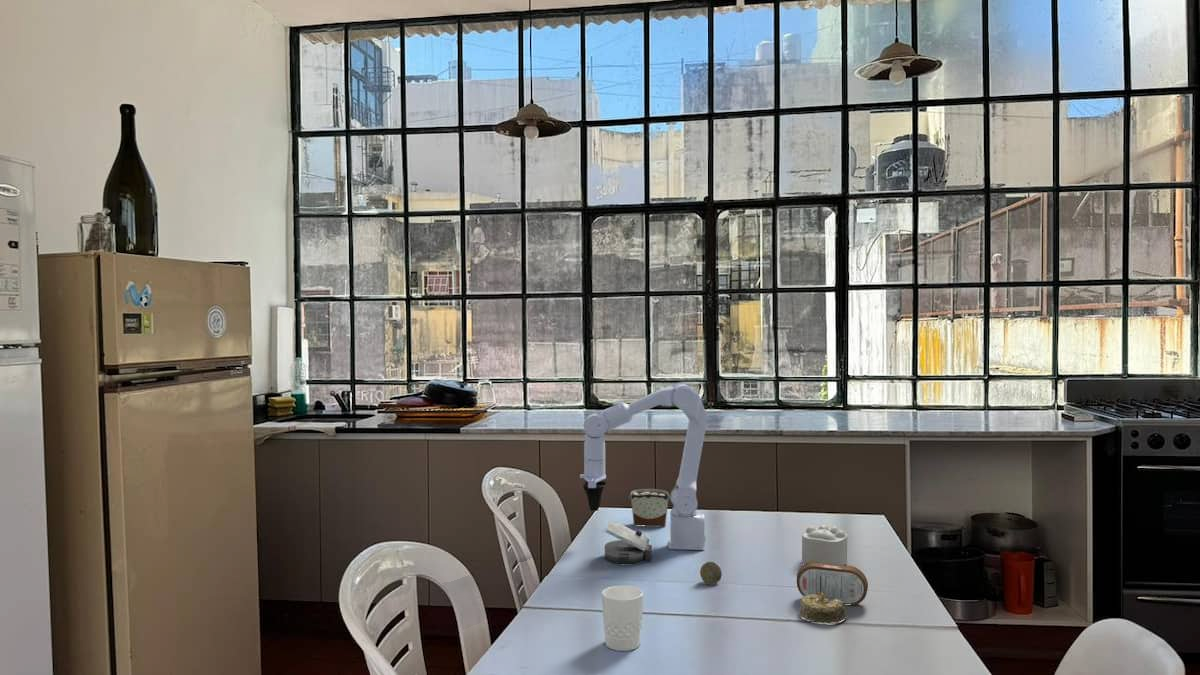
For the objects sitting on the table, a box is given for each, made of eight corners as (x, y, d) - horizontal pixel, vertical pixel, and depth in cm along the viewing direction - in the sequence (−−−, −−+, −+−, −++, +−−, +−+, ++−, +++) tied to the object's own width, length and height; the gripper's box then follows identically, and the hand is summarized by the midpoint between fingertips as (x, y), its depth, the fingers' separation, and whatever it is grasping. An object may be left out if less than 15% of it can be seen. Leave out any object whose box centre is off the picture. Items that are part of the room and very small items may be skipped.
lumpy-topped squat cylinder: (797, 565, 198) (798, 531, 198) (812, 551, 209) (812, 519, 209) (839, 572, 193) (839, 537, 192) (852, 558, 204) (852, 524, 203)
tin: (867, 604, 171) (868, 566, 171) (867, 609, 168) (868, 570, 168) (796, 596, 176) (797, 559, 176) (795, 601, 173) (795, 563, 173)
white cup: (600, 636, 155) (600, 586, 154) (640, 634, 155) (640, 584, 155) (604, 653, 147) (603, 600, 146) (645, 652, 147) (645, 599, 147)
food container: (670, 521, 240) (670, 488, 239) (670, 526, 234) (670, 493, 233) (630, 520, 241) (630, 488, 241) (628, 525, 235) (628, 492, 235)
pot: (652, 549, 212) (652, 537, 211) (650, 569, 195) (650, 556, 195) (607, 547, 213) (607, 536, 213) (601, 567, 196) (601, 555, 196)
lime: (723, 582, 185) (723, 561, 185) (711, 588, 182) (711, 566, 182) (708, 578, 188) (708, 557, 188) (696, 583, 185) (696, 562, 185)
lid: (648, 541, 208) (651, 535, 208) (647, 552, 198) (650, 547, 198) (609, 521, 209) (611, 516, 209) (605, 532, 199) (608, 526, 199)
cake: (839, 633, 158) (838, 607, 158) (791, 623, 163) (790, 598, 163) (852, 612, 166) (851, 588, 166) (805, 604, 172) (804, 580, 171)
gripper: (583, 453, 221) (583, 502, 221) (576, 463, 206) (576, 515, 207) (608, 454, 220) (608, 502, 220) (603, 464, 206) (603, 515, 206)
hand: (594, 508), depth 214 cm, fingers open, 3 cm apart
